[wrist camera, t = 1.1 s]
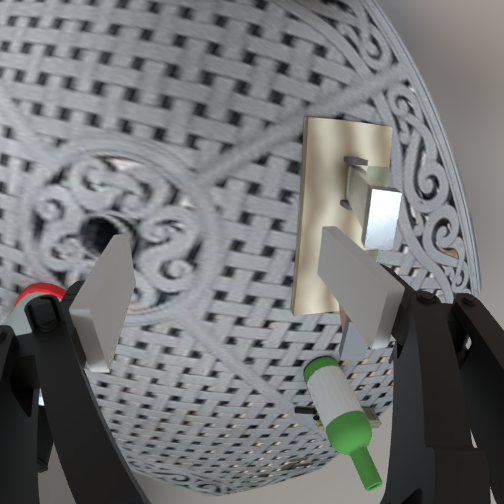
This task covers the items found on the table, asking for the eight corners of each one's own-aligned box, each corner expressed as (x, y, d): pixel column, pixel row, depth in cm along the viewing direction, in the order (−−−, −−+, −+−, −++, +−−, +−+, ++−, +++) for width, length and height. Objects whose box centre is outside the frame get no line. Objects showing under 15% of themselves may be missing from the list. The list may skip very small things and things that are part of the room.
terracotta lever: (331, 281, 51) (340, 360, 34) (335, 250, 49) (349, 321, 31) (347, 283, 51) (363, 361, 33) (352, 252, 48) (374, 323, 31)
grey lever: (341, 198, 45) (364, 247, 28) (345, 162, 43) (372, 189, 26) (359, 200, 45) (391, 250, 28) (363, 164, 43) (401, 192, 25)
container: (13, 326, 47) (-17, 375, 34) (28, 266, 43) (-13, 313, 30) (79, 364, 53) (61, 420, 40) (103, 311, 49) (81, 370, 36)
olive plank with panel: (366, 413, 75) (290, 411, 68) (373, 405, 74) (296, 402, 67) (376, 430, 69) (298, 431, 61) (383, 422, 68) (305, 423, 60)
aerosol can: (63, 415, 59) (47, 480, 41) (57, 427, 60) (42, 487, 42) (35, 399, 56) (13, 463, 38) (30, 412, 57) (11, 472, 39)
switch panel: (290, 309, 54) (298, 325, 50) (303, 116, 41) (315, 117, 37) (360, 301, 56) (372, 316, 52) (385, 126, 44) (403, 128, 39)
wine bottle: (295, 376, 62) (341, 500, 35) (316, 350, 60) (376, 476, 33) (322, 383, 65) (372, 495, 38) (343, 359, 62) (405, 472, 35)
